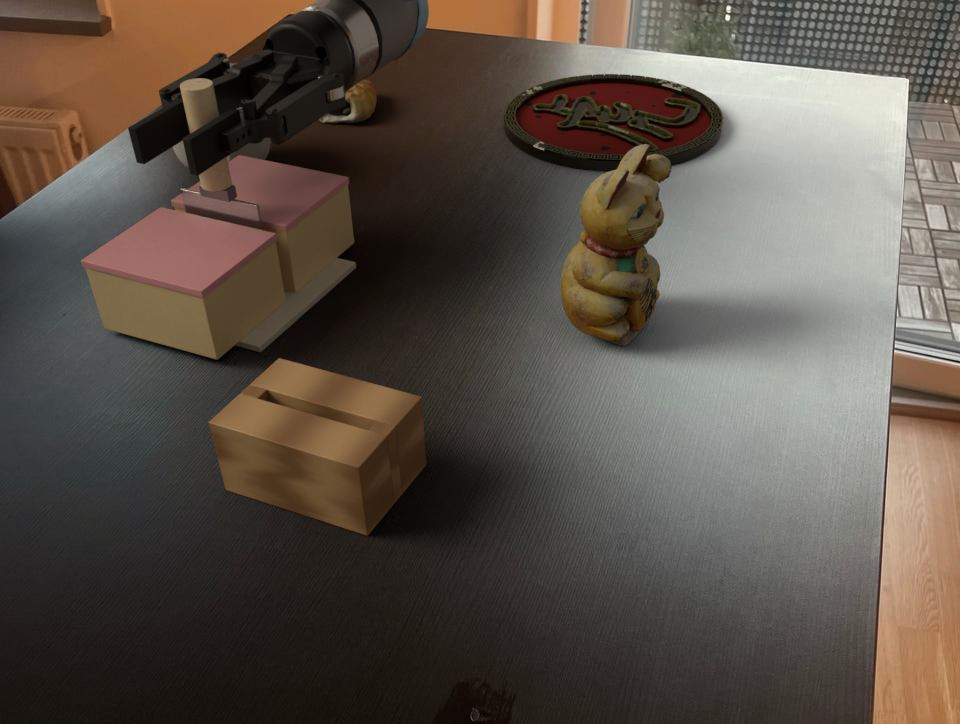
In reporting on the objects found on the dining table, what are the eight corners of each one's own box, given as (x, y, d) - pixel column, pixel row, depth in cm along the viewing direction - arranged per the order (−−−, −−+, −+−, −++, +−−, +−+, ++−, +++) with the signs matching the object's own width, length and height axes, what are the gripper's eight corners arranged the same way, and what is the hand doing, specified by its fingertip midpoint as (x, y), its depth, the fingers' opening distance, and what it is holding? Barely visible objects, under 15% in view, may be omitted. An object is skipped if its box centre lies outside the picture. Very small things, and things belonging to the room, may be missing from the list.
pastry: (336, 93, 126) (333, 59, 124) (389, 97, 125) (387, 63, 123) (312, 124, 120) (307, 88, 118) (367, 128, 119) (364, 93, 116)
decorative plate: (682, 176, 106) (466, 136, 114) (681, 187, 107) (466, 147, 115) (750, 92, 122) (555, 62, 129) (748, 102, 122) (555, 72, 130)
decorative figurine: (631, 364, 85) (650, 183, 74) (539, 343, 88) (544, 164, 77) (667, 308, 91) (690, 132, 80) (580, 290, 94) (590, 116, 82)
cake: (87, 330, 90) (62, 255, 85) (236, 221, 104) (222, 151, 99) (238, 372, 85) (221, 296, 80) (373, 252, 99) (366, 180, 94)
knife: (192, 280, 95) (145, 82, 82) (209, 268, 96) (165, 71, 84) (265, 299, 92) (228, 97, 80) (281, 285, 94) (247, 85, 81)
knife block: (225, 490, 75) (207, 422, 71) (291, 424, 80) (278, 357, 76) (367, 536, 71) (358, 467, 67) (427, 464, 77) (422, 396, 72)
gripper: (406, 112, 95) (264, 219, 81) (248, 84, 100) (89, 180, 86) (400, 21, 89) (247, 119, 75) (233, -4, 95) (60, 84, 81)
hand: (163, 151), depth 81 cm, fingers open, 5 cm apart
